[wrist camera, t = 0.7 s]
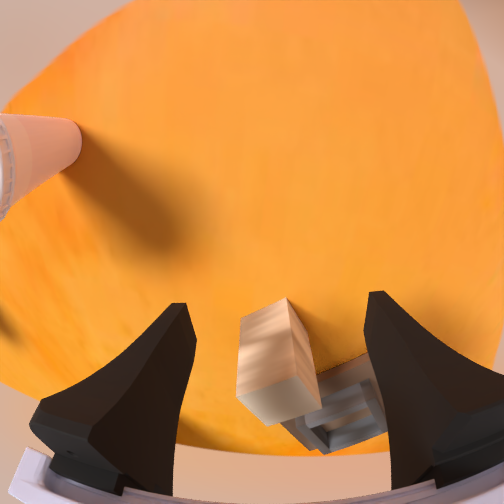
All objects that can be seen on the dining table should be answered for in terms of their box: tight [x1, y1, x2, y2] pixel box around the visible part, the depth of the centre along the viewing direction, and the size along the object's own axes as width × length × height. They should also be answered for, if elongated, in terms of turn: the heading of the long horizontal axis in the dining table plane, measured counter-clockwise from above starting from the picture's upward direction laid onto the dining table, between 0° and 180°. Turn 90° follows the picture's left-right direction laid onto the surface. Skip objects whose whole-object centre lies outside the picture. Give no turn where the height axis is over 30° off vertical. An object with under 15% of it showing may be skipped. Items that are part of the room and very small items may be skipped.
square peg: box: [236, 298, 322, 426], centre depth 21 cm, size 4×4×8 cm
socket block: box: [280, 353, 388, 455], centre depth 28 cm, size 13×13×4 cm
